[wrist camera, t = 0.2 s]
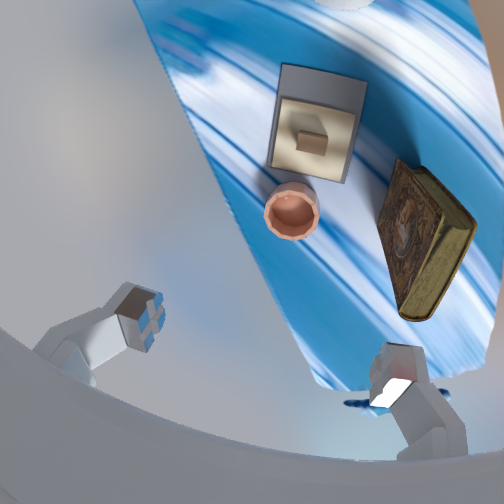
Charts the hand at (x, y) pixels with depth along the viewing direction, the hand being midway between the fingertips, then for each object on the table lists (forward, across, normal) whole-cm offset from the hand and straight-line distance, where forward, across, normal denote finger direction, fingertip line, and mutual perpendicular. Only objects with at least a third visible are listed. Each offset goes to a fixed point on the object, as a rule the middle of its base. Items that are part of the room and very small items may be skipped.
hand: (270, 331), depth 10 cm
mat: (+47, 0, -1) cm, 47 cm away
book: (+47, -19, +10) cm, 52 cm away
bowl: (+47, +2, +16) cm, 50 cm away
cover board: (+47, 0, +2) cm, 47 cm away
